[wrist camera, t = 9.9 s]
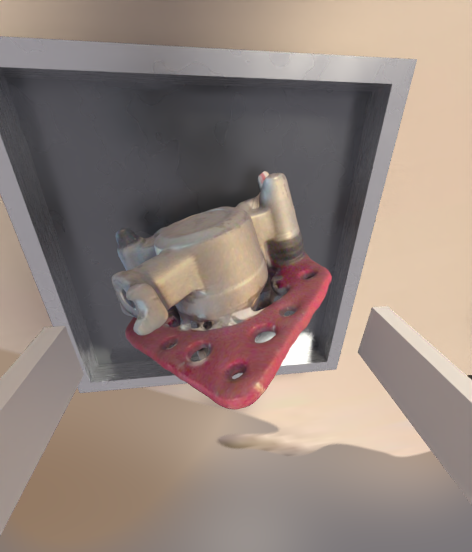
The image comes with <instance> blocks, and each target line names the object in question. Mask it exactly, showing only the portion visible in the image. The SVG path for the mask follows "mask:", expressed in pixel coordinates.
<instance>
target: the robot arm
mask: <svg viewBox="0 0 472 552" xmlns="http://www.w3.org/2000/svg"><path fill="white" fill-rule="evenodd" d="M358 353H359V354H360V356H361V357H362V359H363V360H364V361H365V363H366V364H367V365H368V367H369V368H370V369H371V371H372V372H373V373H374V375H375V376H376V377H377V379H378V380H379V381H380V383H381V384H382V385H383V387H384V388H385V389H386V391H387V392H388V393H389V395H390V396H391V397H392V399H393V400H394V401H395V403H396V404H397V405H398V407H399V408H400V409H401V411H402V412H403V414H404V415H405V416H406V418H407V419H408V420H409V422H410V423H411V424H412V426H413V427H414V428H415V430H416V431H417V432H418V434H419V435H420V436H421V438H422V439H423V440H424V442H425V443H426V444H427V446H428V447H429V448H430V450H431V451H432V452H433V454H434V455H435V456H436V458H437V459H438V460H439V462H440V463H441V464H442V466H443V467H444V468H445V470H446V471H447V472H448V474H449V475H450V477H451V478H452V479H453V480H454V482H455V483H456V484H457V486H458V487H459V489H460V490H461V491H462V493H463V494H464V495H465V496H466V498H467V499H468V500H469V502H470V503H471V505H472V375H466V374H465V373H463V372H462V371H461V370H460V369H459V368H458V367H457V366H455V365H454V364H453V363H452V362H451V361H450V360H449V359H447V358H446V357H445V356H444V355H443V354H442V353H441V352H439V351H438V350H437V349H436V348H435V347H434V346H433V345H431V344H430V343H429V342H428V341H427V340H426V339H425V338H423V337H422V336H421V335H420V334H419V333H418V332H417V331H415V330H414V329H413V328H412V327H411V326H410V325H409V324H407V323H406V322H405V321H404V320H403V319H402V318H401V317H399V316H398V315H397V314H396V313H395V312H394V311H393V310H391V309H390V308H389V307H388V306H384V307H372V309H371V312H370V316H369V319H368V322H367V325H366V328H365V331H364V334H363V338H362V341H361V344H360V347H359V350H358ZM83 375H84V373H83V371H82V368H81V366H80V363H79V360H78V358H77V355H76V353H75V350H74V347H73V345H72V342H71V340H70V337H69V335H68V332H67V329H66V327H65V326H58V327H44V329H43V330H42V331H41V332H40V333H39V334H38V336H37V337H36V338H35V339H34V340H33V341H32V342H31V344H30V345H29V346H28V347H27V348H26V349H25V350H24V352H23V353H22V354H21V355H20V356H19V357H18V359H17V360H16V361H15V362H14V363H13V364H12V365H11V367H10V368H9V369H8V370H7V371H6V372H5V373H4V375H3V376H2V377H1V378H0V535H1V533H2V531H3V529H4V528H5V526H6V524H7V522H8V520H9V518H10V516H11V514H12V512H13V510H14V508H15V506H16V504H17V502H18V501H19V499H20V497H21V495H22V493H23V491H24V489H25V487H26V485H27V483H28V481H29V479H30V477H31V476H32V474H33V472H34V470H35V468H36V466H37V464H38V462H39V460H40V458H41V456H42V454H43V452H44V450H45V449H46V447H47V445H48V443H49V441H50V439H51V437H52V435H53V433H54V431H55V429H56V427H57V425H58V424H59V422H60V419H61V418H62V416H63V414H64V412H65V410H66V408H67V406H68V404H69V402H70V400H71V398H72V397H73V395H74V392H75V391H76V389H77V387H78V385H79V383H80V381H81V379H82V377H83Z"/></svg>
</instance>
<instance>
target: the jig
mask: <svg viewBox="0 0 472 552" xmlns="http://www.w3.org/2000/svg"><path fill="white" fill-rule="evenodd" d="M416 61H417V59H399V58H381V57H363V56H345V55H327V54H309V53H291V52H273V51H255V50H237V49H219V48H201V47H183V46H165V45H147V44H128V43H110V42H92V41H74V40H56V39H38V38H20V37H2V36H0V194H1V197H2V199H3V202H4V204H5V207H6V209H7V212H8V214H9V217H10V219H11V222H12V224H13V227H14V229H15V232H16V234H17V237H18V240H19V242H20V245H21V247H22V250H23V252H24V255H25V257H26V260H27V262H28V265H29V267H30V270H31V272H32V275H33V277H34V280H35V282H36V285H37V287H38V290H39V292H40V295H41V297H42V300H43V302H44V305H45V307H46V310H47V312H48V315H49V317H50V320H51V322H52V325H53V327H58V326H65V327H66V329H67V332H68V335H69V337H70V340H71V342H72V345H73V347H74V350H75V353H76V355H77V358H78V360H79V363H80V366H81V368H82V371H83V373H84V375H83V377H82V379H81V381H80V383H79V385H78V387H77V388H78V390H79V393H85V392H96V391H107V390H117V389H128V388H140V387H150V386H161V385H172V384H183V383H187V382H185V381H183V380H181V379H179V378H178V377H177V376H175V375H174V374H173V373H171V372H170V371H168V370H166V369H164V368H163V367H161V366H160V365H159V364H158V363H157V362H156V361H154V360H153V359H152V358H151V357H149V356H147V355H146V354H144V353H143V352H141V351H140V350H138V349H136V348H134V347H133V346H132V345H131V343H130V342H129V341H128V340H127V339H126V336H125V330H126V328H127V326H128V325H129V323H130V322H131V320H132V318H133V317H132V316H128V315H126V314H124V313H123V312H122V309H121V306H120V302H119V300H118V298H117V295H116V291H115V289H114V286H113V284H112V276H113V275H114V274H116V273H118V272H121V271H126V269H125V267H124V265H123V263H122V262H121V260H120V258H119V256H118V252H117V241H116V237H115V236H116V233H117V231H119V230H120V229H122V228H129V229H131V230H132V231H133V232H134V233H135V234H137V235H138V236H140V237H142V238H149V237H151V236H153V235H154V234H155V233H156V232H157V231H158V230H159V229H161V228H163V227H167V226H169V225H171V224H173V223H175V222H177V221H180V220H182V219H185V218H187V217H189V216H192V215H195V214H199V213H202V212H206V211H208V210H211V209H215V208H218V207H234V208H235V207H236V206H237V205H238V204H239V203H241V202H243V201H245V200H248V199H251V198H254V197H256V196H257V195H258V194H259V193H260V192H261V191H260V188H259V184H258V176H259V175H260V174H261V173H262V172H264V171H266V172H268V173H269V174H272V173H283V174H284V175H285V177H286V179H287V182H288V186H289V190H290V193H291V198H292V202H293V206H294V209H295V214H296V219H297V222H298V225H299V229H300V232H301V235H302V238H303V244H304V250H305V252H306V254H307V255H308V256H309V258H310V259H311V260H313V261H314V262H316V263H318V264H319V265H321V266H323V267H325V268H326V269H327V270H328V271H329V272H330V273H331V276H332V280H331V282H330V284H329V286H328V290H327V294H326V296H325V298H324V300H323V301H322V303H321V305H320V307H319V308H318V309H317V310H316V311H315V313H314V314H313V316H312V318H311V320H310V322H309V324H308V326H307V327H306V328H305V329H304V330H303V331H302V332H301V333H300V334H299V336H298V338H297V340H296V341H295V343H294V344H293V345H292V347H291V348H290V350H289V352H288V354H287V356H286V357H285V359H284V360H283V362H282V364H281V366H280V368H279V370H278V371H277V373H276V374H275V375H280V374H291V373H302V372H313V371H324V370H335V369H336V368H337V365H338V361H339V357H340V353H341V349H342V345H343V342H344V338H345V334H346V330H347V326H348V322H349V318H350V315H351V311H352V307H353V303H354V299H355V295H356V292H357V288H358V284H359V280H360V276H361V272H362V269H363V265H364V261H365V257H366V253H367V249H368V246H369V242H370V238H371V234H372V230H373V226H374V223H375V219H376V215H377V211H378V207H379V203H380V200H381V196H382V192H383V188H384V184H385V180H386V176H387V173H388V169H389V165H390V161H391V157H392V153H393V150H394V146H395V142H396V138H397V134H398V130H399V127H400V123H401V119H402V115H403V111H404V107H405V104H406V100H407V96H408V92H409V88H410V84H411V81H412V77H413V73H414V69H415V65H416ZM280 298H281V297H280V296H276V297H275V298H274V302H275V301H277V300H278V299H280ZM294 313H295V312H294V311H287V312H285V313H284V316H289V315H292V314H294ZM190 324H191V327H192V328H197V324H196V322H194V321H192V322H191V323H190ZM275 335H276V333H274V332H270V331H267V332H262V333H260V334H258V335H257V336H256V338H255V342H256V343H263V342H266V341H268V340H270V339H272V338H273V337H274V336H275ZM174 345H175V344H173V345H171V346H170V347H169V348H171V347H173V346H174ZM209 353H210V349H209V352H208V355H209ZM208 355H207V356H208ZM191 361H192V362H196V361H200V359H199V357H198V354H197V352H195V353H194V354H193V355H192V357H191ZM242 374H243V373H238V374H236V375H234V376H233V377H232V379H236V378H238V377H240V376H241V375H242Z"/></svg>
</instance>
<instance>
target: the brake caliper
mask: <svg viewBox="0 0 472 552" xmlns="http://www.w3.org/2000/svg"><path fill="white" fill-rule="evenodd" d="M258 184H259V188H260V191H261V192H260V193H259V194H258V195H257V196H256V197H254V198H251V199H248V200H245V201H243V202H241V203H239V204H238V205H237V206H236V207H235V208H234V207H218V208H215V209H211V210H208V211H206V212H202V213H199V214H195V215H192V216H189V217H187V218H185V219H182V220H180V221H177V222H175V223H173V224H171V225H169V226H167V227H163V228H161V229H159V230H158V231H157V232H156V233H155V234H154V235H153V236H151V237H149V238H142V237H140V236H138V235H137V234H135V233H134V232H133V231H132V230H131V229H129V228H122V229H120V230H119V231H117V233H116V236H115V237H116V241H117V252H118V256H119V258H120V260H121V262H122V263H123V265H124V267H125V269H126V271H121V272H118V273H116V274H114V275H113V276H112V284H113V286H114V289H115V291H116V295H117V298H118V300H119V302H120V306H121V309H122V312H123V313H124V314H126V315H128V316H132V317H133V318H132V320H131V322H130V323H129V325H128V326H127V328H126V330H125V336H126V339H127V340H128V341H129V342H130V343H131V345H132V346H133V347H134V348H136V349H138V350H140V351H141V352H143V353H144V354H146V355H147V356H149V357H151V358H152V359H153V360H154V361H156V362H157V363H158V364H159V365H160V366H161V367H163V368H164V369H166V370H168V371H170V372H171V373H173V374H174V375H175V376H177V377H178V378H179V379H181V380H183V381H185V382H187V383H188V384H190V385H191V386H192V387H194V388H195V389H197V390H198V391H200V392H202V393H203V394H205V395H206V396H208V397H209V398H210V399H211V400H213V401H214V402H215V403H217V404H218V405H220V406H223V407H225V408H228V409H240V408H244V407H247V406H250V405H251V404H253V403H254V402H255V401H256V400H257V399H258V398H259V397H260V396H261V395H262V394H263V393H264V391H265V390H266V389H267V387H268V385H269V384H270V382H271V381H272V379H273V378H274V376H275V374H276V373H277V371H278V370H279V368H280V366H281V364H282V362H283V360H284V359H285V357H286V356H287V354H288V352H289V350H290V348H291V347H292V345H293V344H294V343H295V341H296V340H297V338H298V336H299V334H300V333H301V332H302V331H303V330H304V329H305V328H306V327H307V326H308V324H309V322H310V320H311V318H312V316H313V314H314V313H315V311H316V310H317V309H318V308H319V307H320V305H321V303H322V301H323V300H324V298H325V296H326V294H327V290H328V286H329V284H330V282H331V280H332V276H331V273H330V272H329V271H328V270H327V269H326V268H325V267H323V266H321V265H319V264H318V263H316V262H314V261H313V260H311V259H310V258H309V256H308V255H307V254H306V252H305V250H304V244H303V238H302V235H301V232H300V229H299V225H298V222H297V219H296V214H295V209H294V206H293V202H292V198H291V193H290V190H289V186H288V182H287V179H286V177H285V175H284V174H283V173H272V174H269V173H268V172H266V171H264V172H262V173H261V174H260V175H259V176H258ZM276 296H280V297H281V298H280V299H278V300H277V301H275V302H274V298H275V297H276ZM287 311H294V312H295V313H294V314H292V315H289V316H284V313H285V312H287ZM192 321H194V322H196V324H197V328H192V327H191V324H190V323H191V322H192ZM267 331H270V332H274V333H276V335H275V336H274V337H273V338H272V339H270V340H268V341H266V342H263V343H256V342H255V338H256V336H257V335H258V334H260V333H262V332H267ZM173 344H175V345H174V346H173V347H171V348H169V347H170V346H171V345H173ZM209 349H210V353H209V355H208V352H209ZM195 352H197V354H198V357H199V359H200V361H196V362H192V361H191V357H192V355H193V354H194V353H195ZM207 355H208V356H207ZM238 373H243V374H242V375H241V376H240V377H238V378H236V379H232V377H233V376H234V375H236V374H238Z"/></svg>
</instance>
